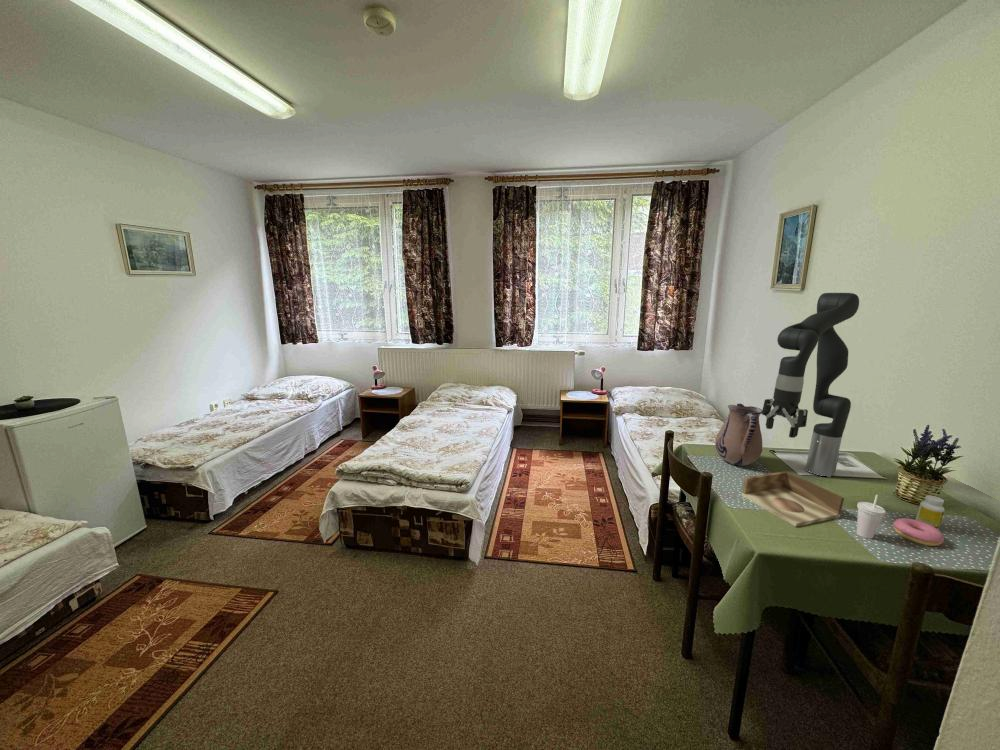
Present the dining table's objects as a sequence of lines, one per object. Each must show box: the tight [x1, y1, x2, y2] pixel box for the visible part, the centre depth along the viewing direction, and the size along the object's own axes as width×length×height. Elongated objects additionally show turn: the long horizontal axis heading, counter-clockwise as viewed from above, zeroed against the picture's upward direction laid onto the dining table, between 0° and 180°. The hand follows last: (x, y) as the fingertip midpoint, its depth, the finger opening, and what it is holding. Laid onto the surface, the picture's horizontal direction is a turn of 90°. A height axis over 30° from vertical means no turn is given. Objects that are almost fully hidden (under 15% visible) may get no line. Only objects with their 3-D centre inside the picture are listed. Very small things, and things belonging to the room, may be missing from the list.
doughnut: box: [892, 517, 945, 547], centre depth 121 cm, size 11×11×4 cm
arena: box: [741, 470, 845, 528], centre depth 137 cm, size 20×20×7 cm
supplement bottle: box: [915, 495, 945, 530], centre depth 127 cm, size 5×5×10 cm
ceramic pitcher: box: [714, 403, 763, 467], centre depth 168 cm, size 18×21×25 cm
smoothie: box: [856, 494, 887, 540], centre depth 121 cm, size 6×6×14 cm
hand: (780, 432), depth 137 cm, fingers open, 8 cm apart
